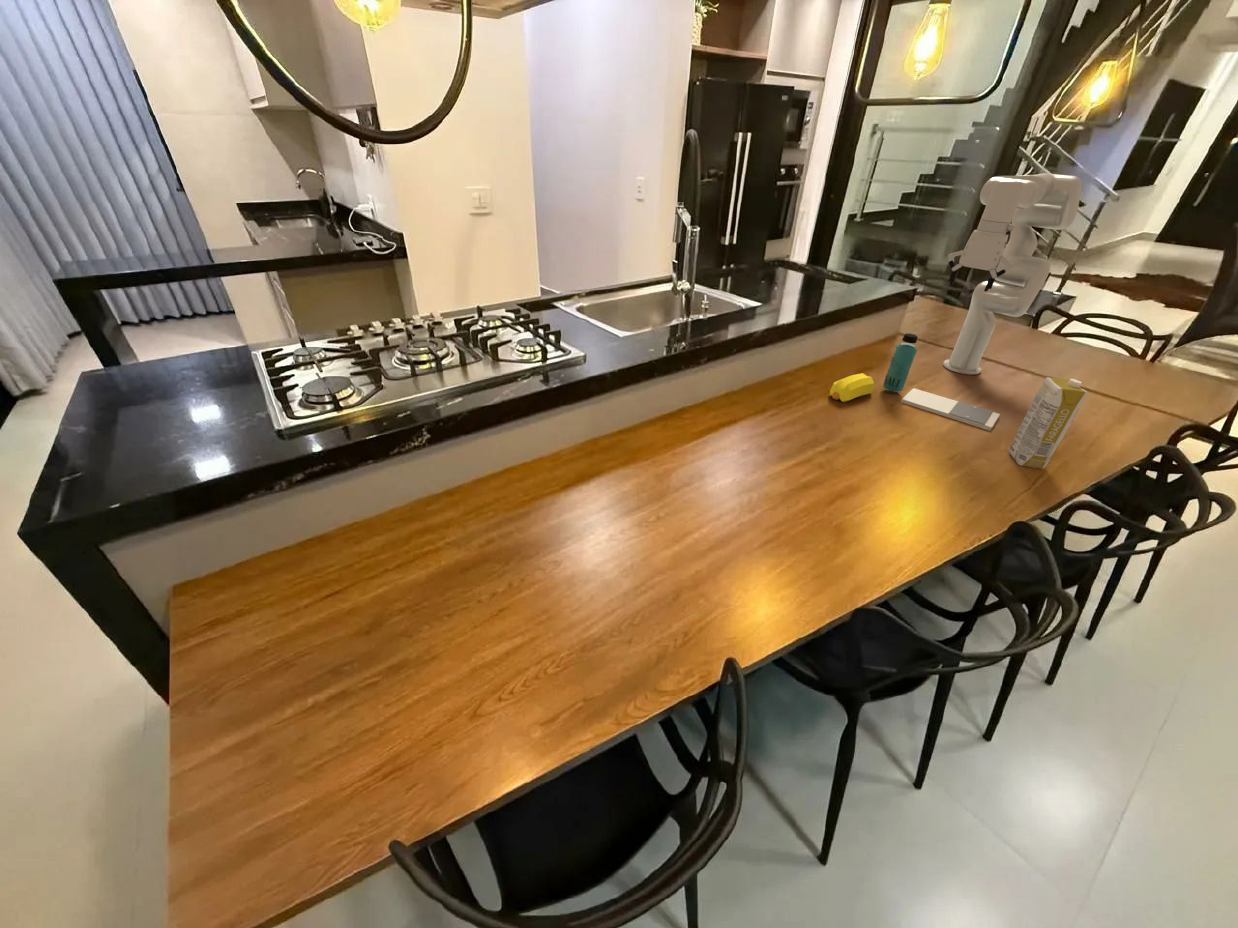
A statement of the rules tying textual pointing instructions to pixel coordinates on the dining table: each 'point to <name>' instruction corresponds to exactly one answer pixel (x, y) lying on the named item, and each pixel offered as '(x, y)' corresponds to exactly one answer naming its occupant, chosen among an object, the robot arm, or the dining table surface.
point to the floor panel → (951, 408)
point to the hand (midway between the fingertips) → (968, 287)
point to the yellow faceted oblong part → (852, 387)
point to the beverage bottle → (901, 364)
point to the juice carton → (1047, 421)
